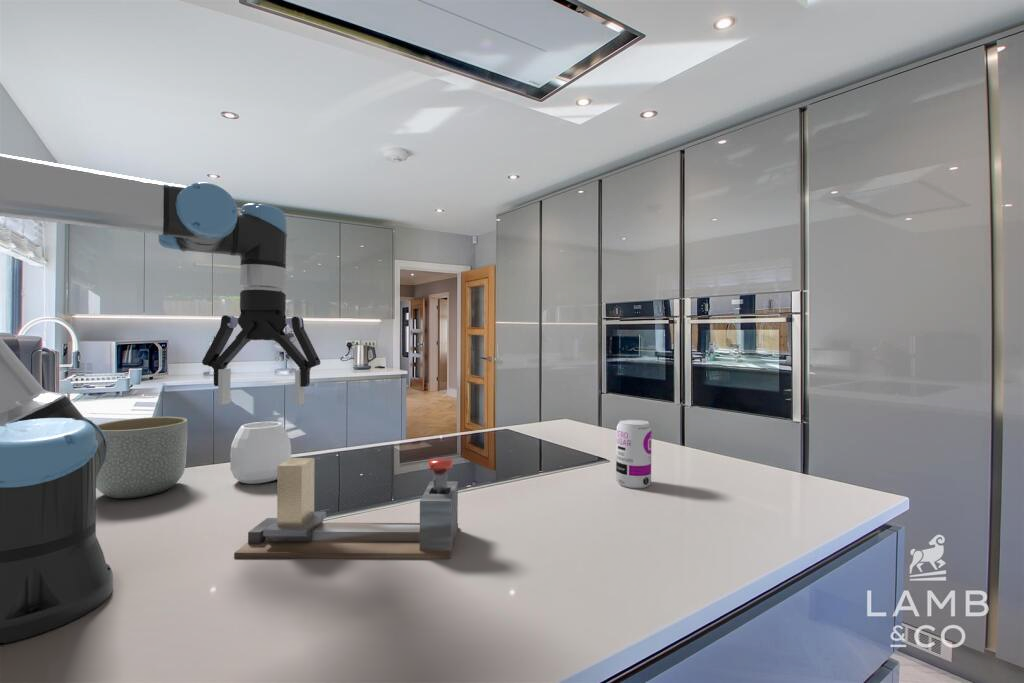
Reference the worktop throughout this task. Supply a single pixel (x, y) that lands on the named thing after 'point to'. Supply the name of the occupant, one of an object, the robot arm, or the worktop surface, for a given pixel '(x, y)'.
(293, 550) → the rail deck
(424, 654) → the worktop surface
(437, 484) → the red mushroom button
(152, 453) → the planter
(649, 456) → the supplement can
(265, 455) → the white vase
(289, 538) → the carriage
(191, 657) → the worktop surface
